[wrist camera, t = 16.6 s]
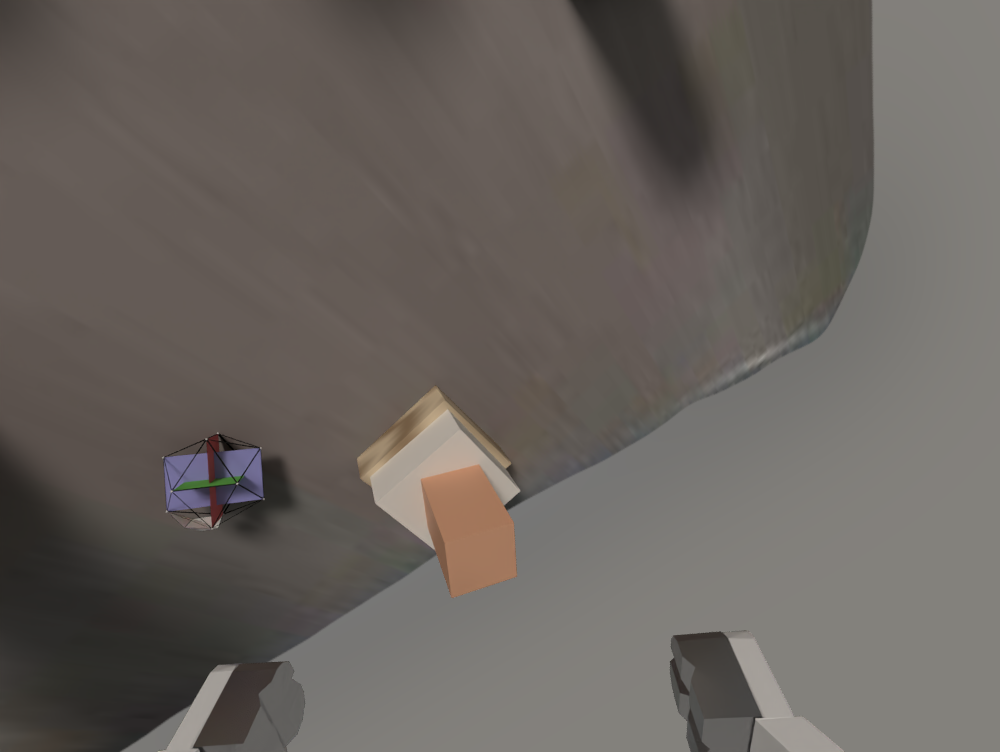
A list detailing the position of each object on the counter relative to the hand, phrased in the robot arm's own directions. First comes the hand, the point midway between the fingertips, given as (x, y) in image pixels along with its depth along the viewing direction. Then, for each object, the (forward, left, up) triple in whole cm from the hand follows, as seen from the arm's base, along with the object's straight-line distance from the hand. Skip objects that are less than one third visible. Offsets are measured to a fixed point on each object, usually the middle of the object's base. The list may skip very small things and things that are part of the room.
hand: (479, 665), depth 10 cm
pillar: (-5, -15, -27) cm, 31 cm away
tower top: (-5, -15, -31) cm, 35 cm away
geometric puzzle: (-17, -1, -34) cm, 38 cm away
